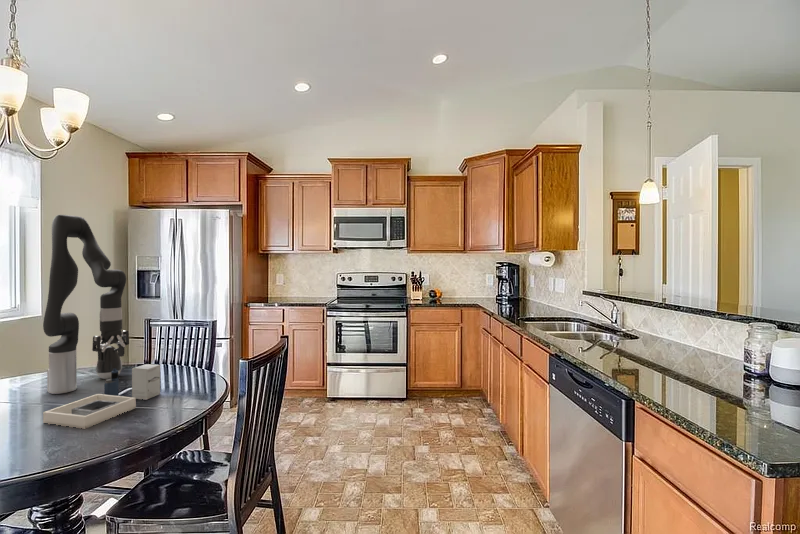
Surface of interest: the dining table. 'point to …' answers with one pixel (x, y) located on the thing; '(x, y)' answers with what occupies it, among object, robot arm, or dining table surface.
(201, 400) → the dining table surface
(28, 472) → the dining table surface
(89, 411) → the inlet socket
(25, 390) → the dining table surface
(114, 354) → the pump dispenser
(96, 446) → the dining table surface
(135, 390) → the supplement box
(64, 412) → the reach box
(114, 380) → the vaping device
